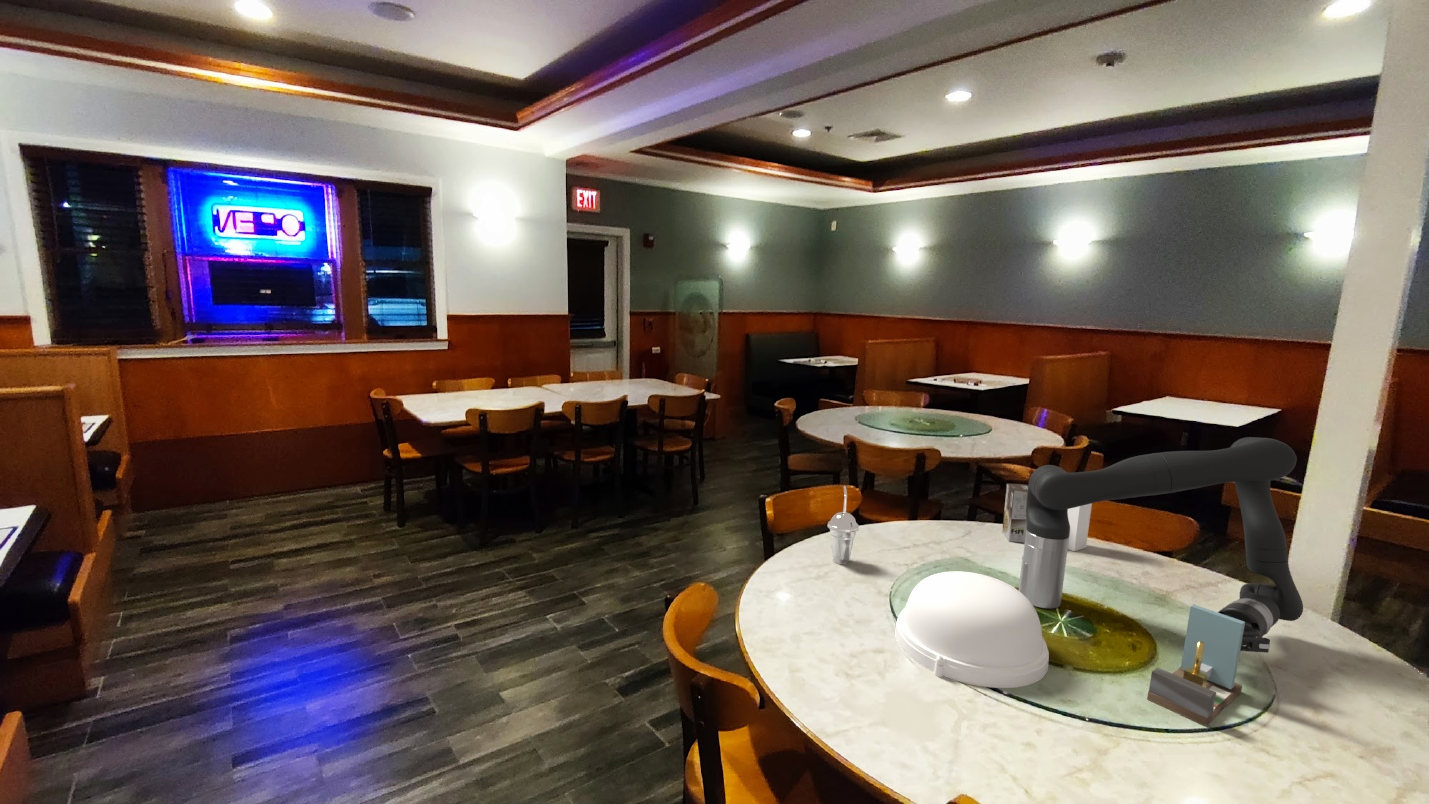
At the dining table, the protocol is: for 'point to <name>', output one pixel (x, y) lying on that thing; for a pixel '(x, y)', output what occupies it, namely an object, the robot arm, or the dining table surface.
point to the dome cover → (973, 631)
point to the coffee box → (1015, 512)
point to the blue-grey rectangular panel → (1214, 644)
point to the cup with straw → (842, 534)
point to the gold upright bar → (1196, 668)
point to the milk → (1079, 526)
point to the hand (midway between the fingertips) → (1213, 644)
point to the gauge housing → (1190, 695)
